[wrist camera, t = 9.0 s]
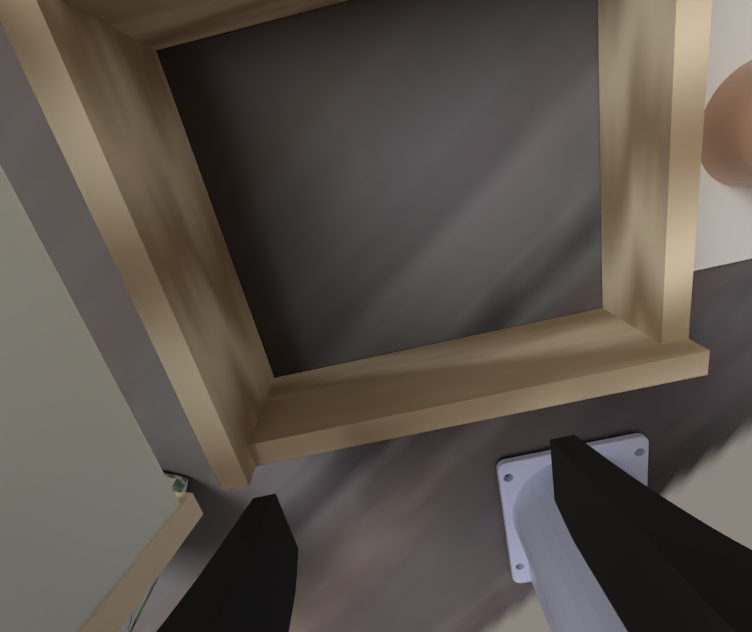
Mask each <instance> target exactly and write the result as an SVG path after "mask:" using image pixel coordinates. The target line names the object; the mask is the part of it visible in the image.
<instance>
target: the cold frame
mask: <svg viewBox="0 0 752 632" xmlns="http://www.w3.org/2000/svg"><path fill="white" fill-rule="evenodd" d="M344 1H348V0H0V21H1V24H2V26H3V28H4V30H5V32H6V34H7V36H8V38H9V40H10V43H11V45H12V47H13V49H14V51H15V53H16V55H17V57H18V60H19V62H20V64H21V66H22V68H23V70H24V72H25V74H26V77H27V79H28V81H29V83H30V85H31V87H32V89H33V91H34V93H35V96H36V98H37V100H38V102H39V104H40V106H41V108H42V110H43V113H44V115H45V117H46V119H47V121H48V123H49V125H50V127H51V129H52V132H53V134H54V136H55V138H56V140H57V142H58V144H59V146H60V149H61V151H62V153H63V155H64V157H65V159H66V161H67V163H68V165H69V168H70V170H71V172H72V174H73V176H74V178H75V180H76V182H77V185H78V187H79V189H80V191H81V193H82V195H83V197H84V199H85V201H86V204H87V206H88V208H89V210H90V212H91V214H92V216H93V218H94V221H95V223H96V225H97V227H98V229H99V231H100V233H101V235H102V237H103V240H104V242H105V244H106V246H107V248H108V250H109V252H110V254H111V257H112V259H113V261H114V263H115V265H116V267H117V269H118V271H119V273H120V276H121V278H122V280H123V282H124V284H125V286H126V288H127V290H128V293H129V295H130V297H131V299H132V301H133V303H134V305H135V307H136V309H137V312H138V314H139V316H140V318H141V320H142V322H143V324H144V326H145V329H146V331H147V333H148V335H149V337H150V339H151V341H152V343H153V346H154V348H155V350H156V352H157V354H158V356H159V358H160V360H161V362H162V365H163V367H164V369H165V371H166V373H167V375H168V377H169V379H170V382H171V384H172V386H173V388H174V390H175V392H176V394H177V396H178V398H179V401H180V403H181V405H182V407H183V409H184V411H185V413H186V415H187V418H188V420H189V422H190V424H191V426H192V428H193V430H194V432H195V434H196V437H197V439H198V441H199V443H200V445H201V447H202V449H203V451H204V454H205V456H206V458H207V460H208V462H209V464H210V466H211V468H212V470H213V473H214V475H215V477H216V479H217V481H218V483H219V485H220V487H221V490H222V491H226V490H231V489H236V488H241V487H246V486H249V484H250V481H251V478H252V476H253V473H254V470H255V467H256V466H259V465H264V464H269V463H274V462H279V461H284V460H289V459H294V458H299V457H303V456H308V455H313V454H318V453H323V452H328V451H333V450H338V449H343V448H348V447H353V446H358V445H363V444H368V443H373V442H378V441H383V440H387V439H392V438H397V437H402V436H407V435H412V434H417V433H422V432H427V431H432V430H437V429H442V428H447V427H452V426H457V425H462V424H467V423H471V422H476V421H481V420H486V419H491V418H496V417H501V416H506V415H511V414H516V413H521V412H526V411H531V410H536V409H541V408H546V407H551V406H555V405H560V404H565V403H570V402H575V401H580V400H585V399H590V398H595V397H600V396H605V395H610V394H615V393H620V392H625V391H630V390H635V389H639V388H644V387H649V386H654V385H659V384H664V383H669V382H674V381H679V380H684V379H689V378H694V377H699V376H704V375H708V366H709V355H710V350H708V349H706V348H705V347H703V346H701V345H699V344H697V343H695V342H694V341H692V340H690V339H689V325H690V311H691V297H692V282H693V268H694V254H695V240H696V225H697V211H698V197H699V183H700V169H701V154H702V140H703V126H704V112H705V97H706V83H707V69H708V55H709V41H710V26H711V12H712V0H598V45H599V108H600V172H601V235H602V299H603V308H599V309H595V310H590V311H585V312H581V313H576V314H571V315H567V316H562V317H557V318H553V319H548V320H543V321H539V322H534V323H529V324H525V325H520V326H515V327H510V328H506V329H501V330H496V331H492V332H487V333H482V334H478V335H473V336H468V337H464V338H459V339H454V340H450V341H445V342H440V343H435V344H431V345H426V346H421V347H417V348H412V349H407V350H403V351H398V352H393V353H389V354H384V355H379V356H375V357H370V358H365V359H361V360H356V361H351V362H346V363H342V364H337V365H332V366H328V367H323V368H318V369H314V370H309V371H304V372H300V373H295V374H290V375H286V376H281V377H276V378H274V375H273V373H272V370H271V367H270V364H269V361H268V359H267V356H266V353H265V350H264V348H263V345H262V342H261V339H260V337H259V334H258V331H257V328H256V326H255V323H254V320H253V317H252V314H251V312H250V309H249V306H248V303H247V301H246V298H245V295H244V292H243V290H242V287H241V284H240V281H239V278H238V276H237V273H236V270H235V267H234V265H233V262H232V259H231V256H230V254H229V251H228V248H227V245H226V242H225V240H224V237H223V234H222V231H221V229H220V226H219V223H218V220H217V218H216V215H215V212H214V209H213V206H212V204H211V201H210V198H209V195H208V193H207V190H206V187H205V184H204V182H203V179H202V176H201V173H200V171H199V168H198V165H197V162H196V159H195V157H194V154H193V151H192V148H191V146H190V143H189V140H188V137H187V135H186V132H185V129H184V126H183V123H182V121H181V118H180V115H179V112H178V110H177V107H176V104H175V101H174V99H173V96H172V93H171V90H170V87H169V85H168V82H167V79H166V76H165V74H164V71H163V68H162V65H161V63H160V60H159V57H158V54H157V51H156V50H160V49H164V48H168V47H171V46H175V45H179V44H183V43H187V42H191V41H194V40H198V39H202V38H206V37H210V36H214V35H217V34H221V33H225V32H229V31H233V30H237V29H241V28H244V27H248V26H252V25H256V24H260V23H264V22H267V21H271V20H275V19H279V18H283V17H287V16H290V15H294V14H298V13H302V12H306V11H310V10H314V9H317V8H321V7H325V6H329V5H333V4H337V3H340V2H344Z"/></svg>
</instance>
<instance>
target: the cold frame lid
mask: <svg viewBox="0 0 752 632" xmlns="http://www.w3.org/2000/svg"><path fill="white" fill-rule="evenodd" d="M202 515H203V512H202V510H201V508H200V506H199V504H198V502H197V501H196V499H195V497H194V495H193V493H184V492H174V491H173V489H172V488H171V486H170V484H169V482H168V480H167V478H166V476H165V474H164V472H163V471H162V469H161V467H160V465H159V463H158V461H157V459H156V457H155V455H154V454H153V452H152V450H151V448H150V446H149V444H148V442H147V440H146V438H145V437H144V435H143V433H142V431H141V429H140V427H139V425H138V423H137V422H136V420H135V418H134V416H133V414H132V412H131V410H130V408H129V406H128V405H127V403H126V401H125V399H124V397H123V395H122V393H121V391H120V389H119V388H118V386H117V384H116V382H115V380H114V378H113V376H112V374H111V372H110V371H109V369H108V367H107V365H106V363H105V361H104V359H103V357H102V356H101V354H100V352H99V350H98V348H97V346H96V344H95V342H94V340H93V339H92V337H91V335H90V333H89V331H88V329H87V327H86V325H85V323H84V322H83V320H82V318H81V316H80V314H79V312H78V310H77V308H76V306H75V305H74V303H73V301H72V299H71V297H70V295H69V293H68V291H67V289H66V288H65V286H64V284H63V282H62V280H61V278H60V276H59V274H58V273H57V271H56V269H55V267H54V265H53V263H52V261H51V259H50V257H49V256H48V254H47V252H46V250H45V248H44V246H43V244H42V242H41V240H40V239H39V237H38V235H37V233H36V231H35V229H34V227H33V225H32V223H31V222H30V220H29V218H28V216H27V214H26V212H25V210H24V208H23V207H22V205H21V203H20V201H19V199H18V197H17V195H16V193H15V191H14V190H13V188H12V186H11V184H10V182H9V180H8V178H7V176H6V174H5V173H4V171H3V169H2V167H1V165H0V632H119V631H120V630H121V628H122V627H123V625H124V624H125V623H126V621H127V620H128V619H129V617H130V616H131V614H132V613H133V612H134V610H135V609H136V607H137V606H138V605H139V603H140V602H141V600H142V599H143V598H144V596H145V595H146V593H147V592H148V591H149V589H150V588H151V586H152V585H153V584H154V582H155V581H156V579H157V578H158V577H159V575H160V574H161V572H162V571H163V570H164V568H165V567H166V565H167V564H168V563H169V561H170V560H171V559H172V557H173V556H174V554H175V553H176V552H177V550H178V549H179V547H180V546H181V545H182V543H183V542H184V540H185V539H186V538H187V536H188V535H189V533H190V532H191V531H192V529H193V528H194V526H195V525H196V524H197V522H198V521H199V519H200V518H201V517H202Z"/></svg>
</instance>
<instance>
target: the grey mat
mask: <svg viewBox="0 0 752 632" xmlns="http://www.w3.org/2000/svg"><path fill="white" fill-rule="evenodd" d="M750 60H752V0H712V12H711V26H710V41H709V55H708V69H707V83H706V97H705V108H706V106H707V104H708V102H709V100H710V99H711V97H712V95H713V94H714V92H715V91H716V90H717V88H718V87H719V86H720V85H721V83H722V82H723V81H724V80H725V79H726V78H727V77H728V76H729V75H730V74H731V73H732V72H734V71H735V70H736V69H738V68H739V67H740V66H742V65H743V64H745V63H747V62H748V61H750ZM747 259H752V188H746V187H734V186H728V185H725V184H722V183H720V182H718V181H716V180H715V179H713V178H712V177H711V176H710V175H709V174H708V173H707V171H706V170H705V169H704V167H703V165H702V163H701V169H700V183H699V197H698V211H697V225H696V240H695V254H694V268H693V271H696V270H701V269H705V268H710V267H715V266H719V265H724V264H729V263H733V262H738V261H743V260H747Z"/></svg>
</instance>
